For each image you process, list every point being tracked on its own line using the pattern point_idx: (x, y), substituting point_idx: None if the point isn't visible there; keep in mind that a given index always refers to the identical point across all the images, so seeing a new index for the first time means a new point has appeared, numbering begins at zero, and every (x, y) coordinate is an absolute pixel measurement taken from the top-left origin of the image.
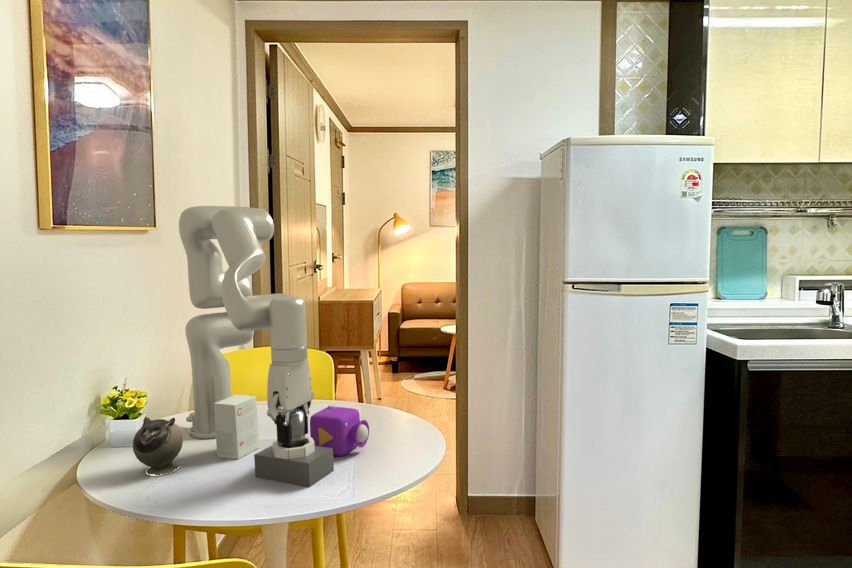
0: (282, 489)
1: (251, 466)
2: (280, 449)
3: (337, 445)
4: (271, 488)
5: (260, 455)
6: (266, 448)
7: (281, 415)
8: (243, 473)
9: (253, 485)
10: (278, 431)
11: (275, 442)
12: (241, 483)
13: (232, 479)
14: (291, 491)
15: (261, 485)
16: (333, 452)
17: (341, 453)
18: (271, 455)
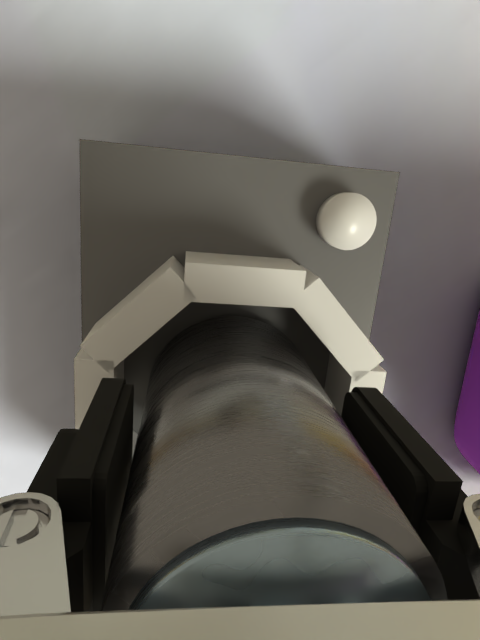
0: (40, 380)
1: (244, 18)
2: (76, 405)
3: (477, 457)
4: (27, 324)
5: (83, 202)
6: (225, 158)
7: (116, 588)
8: (135, 36)
9: (18, 210)
10: (40, 477)
11: (190, 284)
12: (10, 122)
13: (34, 22)
14: (39, 428)
15: (36, 253)
16: (460, 410)
17: (457, 446)
18: (112, 284)
